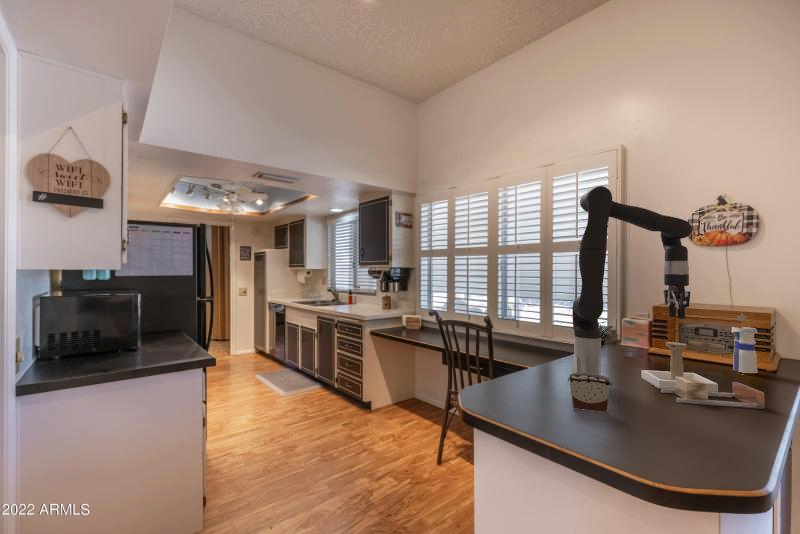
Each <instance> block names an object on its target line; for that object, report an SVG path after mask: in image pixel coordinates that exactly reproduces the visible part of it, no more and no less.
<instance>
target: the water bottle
mask: <svg viewBox="0 0 800 534" xmlns="http://www.w3.org/2000/svg"><path fill="white" fill-rule="evenodd" d="M736 317H737V318H739V320H738V321H739V322H740V321H744V322H745V321H746V318H748V316H747V315H744V314H743V313H741V315H737V316H736ZM731 333H732V334H733V335H735V338H734V339H733V342H734V343H733V346H734V348H733V364H732V366H733V367H732V371H733V370H734V371H737V372H742V373H759V372H758V371H759V370H758V360H757V359H758V356H757V352H756V344H757V342H756V341H755V334H758V333H759V332H758V330H757V328H754V327H750V326H742V327H735V326H732V327H731Z"/></svg>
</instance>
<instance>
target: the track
mask: <svg viewBox="0 0 800 534" xmlns="http://www.w3.org/2000/svg"><path fill="white" fill-rule="evenodd" d="M731 388H732V392H724V391H723V392H719V391H718V392H708V397H720V398H723V397H724V398H732V397H735V398H734V399H736V398H737V400H738V399H739V401H726V400H713V399H708V400H700V399H686V398H682V397H676V403H681V404H693V405H695V404H696V405H707V406H708V405H709V406H719V407H733V408H734V407H735V408H747V409H748V408H749V409H761V410H762V409H763V410H765V409H766V407H765V392H763V391H761V390H759V389H756V388H754V387H752V386H748V385H746V384H744V383H742V382H737V381H732V387H731ZM660 392H661V393H662V394H663V393H664V394H675V389H663V388H661V389H660ZM675 395H676V394H675ZM740 401H741V402H740ZM745 402H746V403H745Z"/></svg>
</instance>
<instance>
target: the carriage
mask: <svg viewBox="0 0 800 534" xmlns="http://www.w3.org/2000/svg"><path fill="white" fill-rule="evenodd" d="M675 395H677V396H678V397H679V398H686V399H700V400H709V396H708V384H707V383H705V382H703V381H701V380H699V379H697V378H692V377H676V376H675Z"/></svg>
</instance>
